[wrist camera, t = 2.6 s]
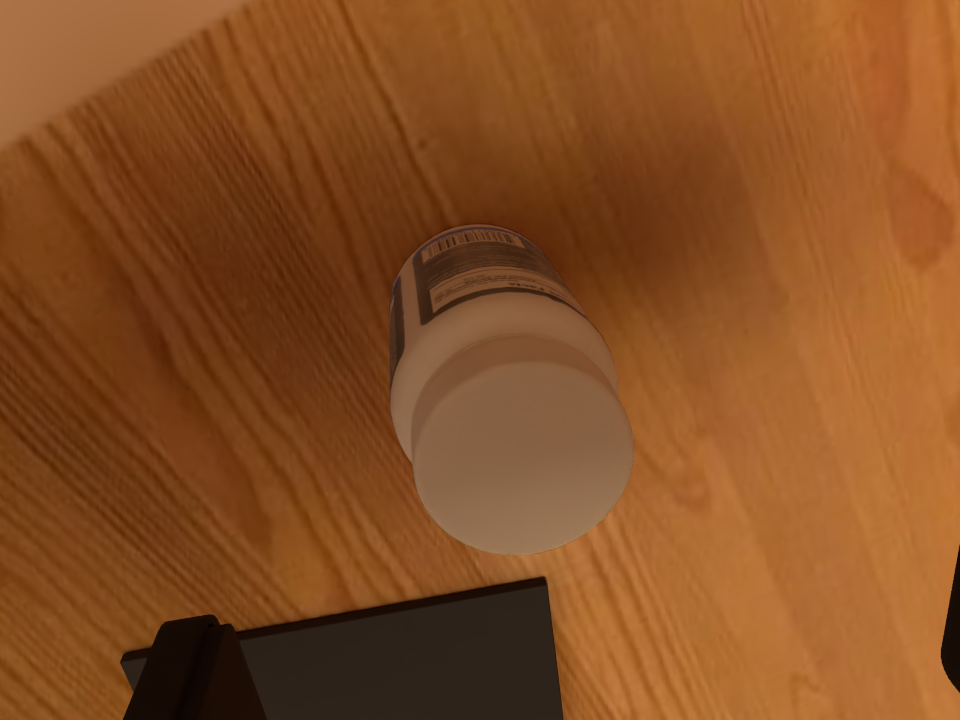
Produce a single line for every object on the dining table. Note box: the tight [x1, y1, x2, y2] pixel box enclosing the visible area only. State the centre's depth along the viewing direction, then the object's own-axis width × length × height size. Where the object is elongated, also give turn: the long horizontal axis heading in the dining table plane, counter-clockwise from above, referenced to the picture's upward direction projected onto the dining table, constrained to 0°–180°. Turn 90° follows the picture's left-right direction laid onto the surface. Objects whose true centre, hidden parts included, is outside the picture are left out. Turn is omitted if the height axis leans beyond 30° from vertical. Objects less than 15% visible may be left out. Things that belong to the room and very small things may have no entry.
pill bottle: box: [389, 224, 634, 555], centre depth 17 cm, size 5×5×8 cm
